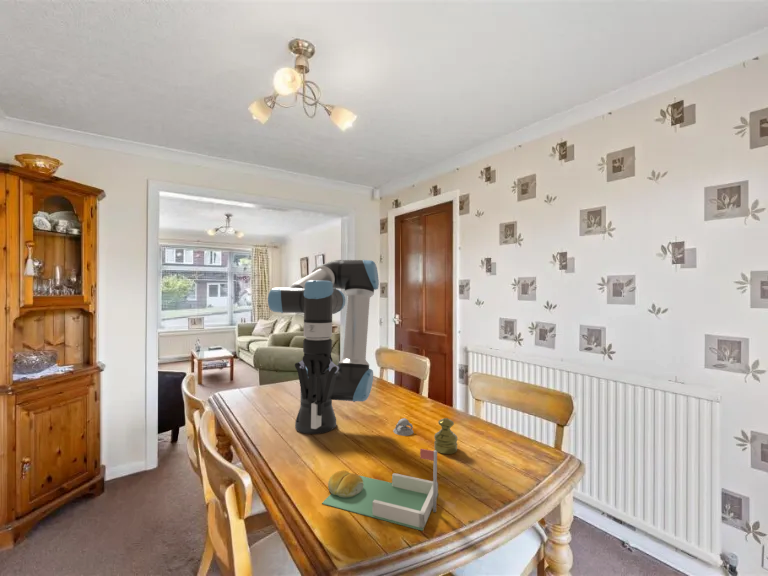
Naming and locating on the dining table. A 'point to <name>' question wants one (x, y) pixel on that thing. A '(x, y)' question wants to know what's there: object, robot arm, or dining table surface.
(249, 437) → the dining table surface
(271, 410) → the dining table surface
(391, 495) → the green mat
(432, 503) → the white u-shaped piece
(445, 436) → the olive green sack
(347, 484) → the bread roll
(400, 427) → the miniature
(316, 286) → the robot arm
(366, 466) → the dining table surface
